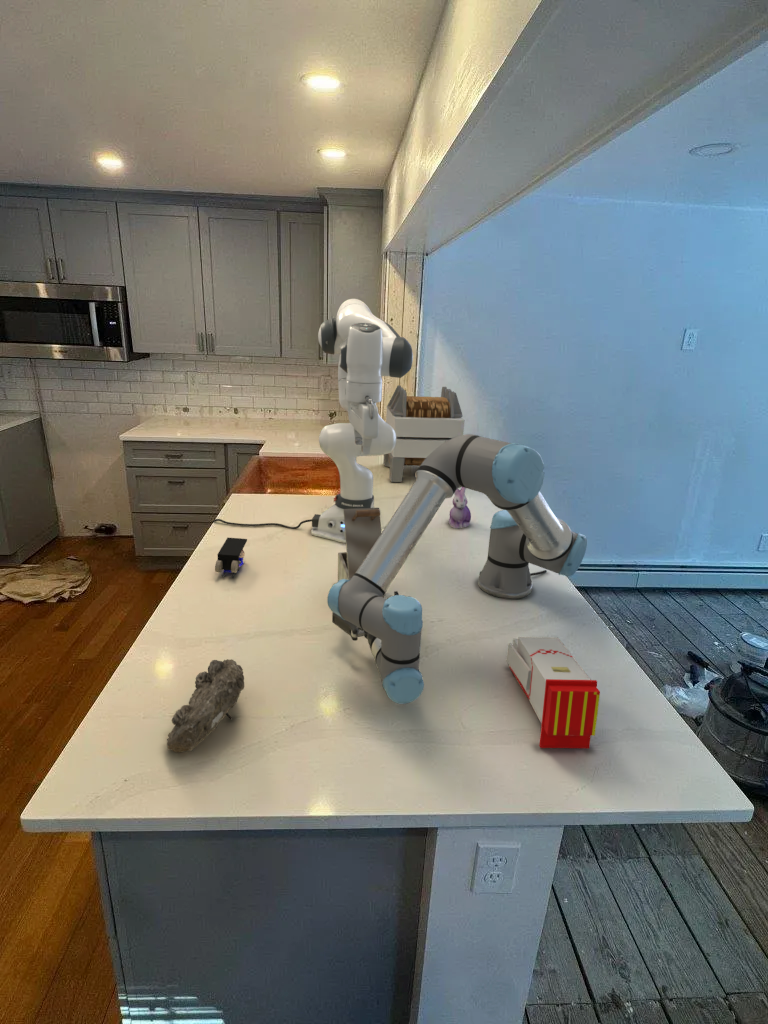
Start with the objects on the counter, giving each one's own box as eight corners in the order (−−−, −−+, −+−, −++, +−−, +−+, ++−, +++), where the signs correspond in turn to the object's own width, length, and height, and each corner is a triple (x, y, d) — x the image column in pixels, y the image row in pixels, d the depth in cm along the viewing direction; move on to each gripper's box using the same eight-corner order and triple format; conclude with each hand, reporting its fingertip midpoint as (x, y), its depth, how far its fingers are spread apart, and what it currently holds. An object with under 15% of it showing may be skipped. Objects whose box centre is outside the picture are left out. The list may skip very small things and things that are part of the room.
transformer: (382, 463, 289) (386, 382, 275) (445, 464, 293) (451, 384, 279) (390, 482, 257) (394, 392, 243) (460, 483, 261) (468, 394, 247)
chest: (337, 584, 162) (337, 552, 158) (369, 582, 164) (370, 550, 160) (347, 614, 146) (348, 580, 143) (383, 612, 148) (384, 577, 145)
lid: (343, 509, 146) (348, 501, 138) (378, 508, 149) (386, 500, 140) (348, 578, 143) (354, 574, 134) (384, 575, 145) (392, 572, 137)
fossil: (192, 660, 117) (244, 628, 112) (224, 691, 120) (276, 661, 115) (142, 746, 98) (202, 712, 93) (182, 779, 101) (242, 748, 96)
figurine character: (238, 584, 162) (249, 557, 175) (236, 562, 158) (247, 536, 172) (215, 584, 161) (227, 556, 175) (212, 561, 158) (225, 535, 171)
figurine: (456, 530, 205) (460, 491, 199) (441, 521, 213) (444, 483, 208) (477, 527, 209) (481, 488, 204) (461, 518, 217) (465, 480, 212)
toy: (554, 620, 129) (609, 687, 99) (549, 674, 131) (601, 755, 102) (501, 619, 128) (541, 686, 99) (497, 673, 131) (534, 754, 102)
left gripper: (386, 400, 130) (383, 458, 134) (367, 387, 148) (366, 439, 153) (359, 399, 128) (357, 459, 133) (344, 387, 147) (343, 439, 152)
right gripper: (329, 666, 119) (318, 615, 138) (442, 655, 124) (416, 607, 144) (329, 635, 116) (318, 587, 136) (445, 625, 122) (418, 581, 141)
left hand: (362, 448), depth 143 cm, fingers open, 8 cm apart
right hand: (368, 597), depth 140 cm, fingers open, 13 cm apart
